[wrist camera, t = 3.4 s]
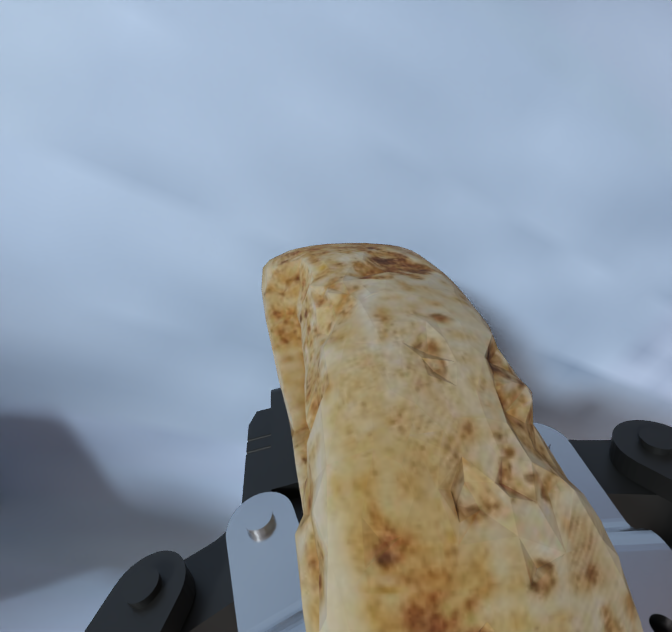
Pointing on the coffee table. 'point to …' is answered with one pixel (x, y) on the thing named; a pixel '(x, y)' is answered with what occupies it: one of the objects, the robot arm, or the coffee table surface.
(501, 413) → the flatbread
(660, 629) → the robot arm
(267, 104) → the coffee table surface
